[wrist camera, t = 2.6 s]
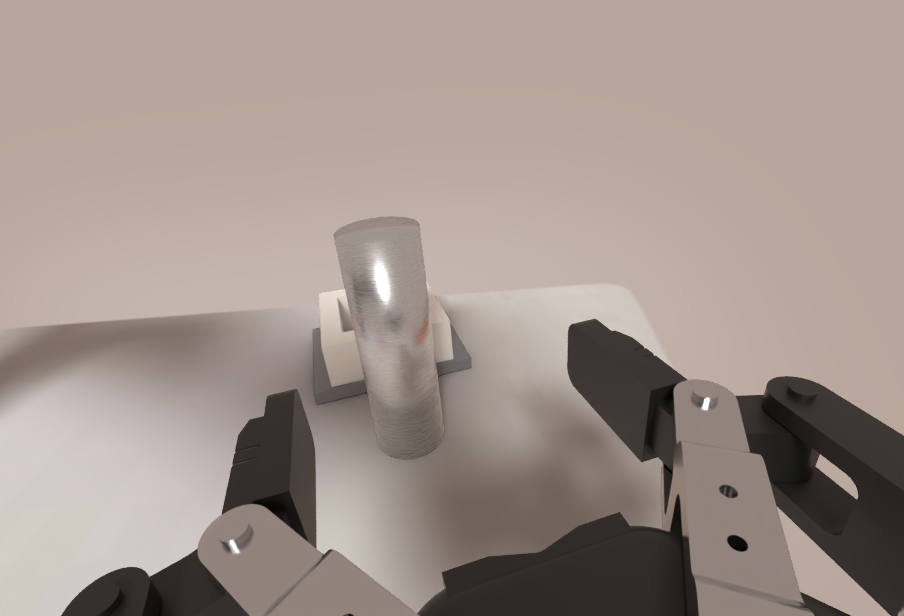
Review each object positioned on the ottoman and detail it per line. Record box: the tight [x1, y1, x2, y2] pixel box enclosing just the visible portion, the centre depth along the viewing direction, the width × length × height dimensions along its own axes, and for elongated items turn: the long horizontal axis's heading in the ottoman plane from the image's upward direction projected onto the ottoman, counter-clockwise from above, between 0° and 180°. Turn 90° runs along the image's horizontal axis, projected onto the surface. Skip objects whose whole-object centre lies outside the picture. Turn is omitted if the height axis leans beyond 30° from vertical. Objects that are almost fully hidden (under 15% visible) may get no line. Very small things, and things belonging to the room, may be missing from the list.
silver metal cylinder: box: [334, 217, 444, 459], centre depth 26 cm, size 4×4×14 cm
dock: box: [313, 281, 471, 404], centre depth 38 cm, size 12×10×4 cm
